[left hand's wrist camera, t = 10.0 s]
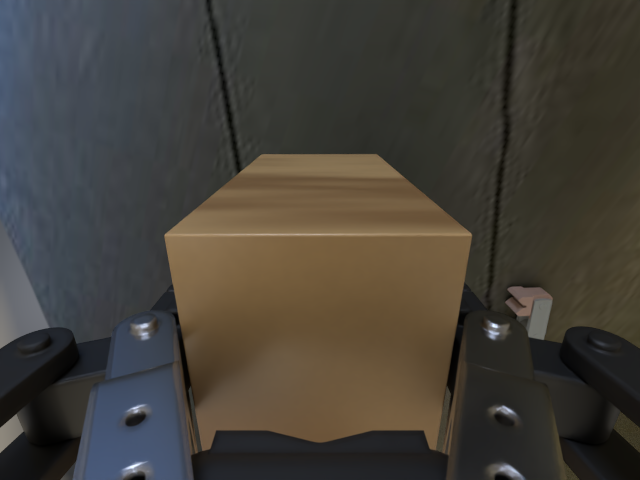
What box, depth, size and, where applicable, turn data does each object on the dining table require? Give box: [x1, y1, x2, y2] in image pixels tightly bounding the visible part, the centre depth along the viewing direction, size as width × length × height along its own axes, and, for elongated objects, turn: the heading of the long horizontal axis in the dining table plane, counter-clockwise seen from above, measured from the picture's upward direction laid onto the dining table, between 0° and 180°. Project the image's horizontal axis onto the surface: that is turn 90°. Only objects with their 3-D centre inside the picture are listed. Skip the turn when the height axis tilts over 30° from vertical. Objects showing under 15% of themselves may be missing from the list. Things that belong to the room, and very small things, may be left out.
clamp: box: [505, 286, 553, 340], centre depth 34 cm, size 15×2×10 cm
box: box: [165, 154, 472, 451], centre depth 16 cm, size 24×6×12 cm, turn 0°
